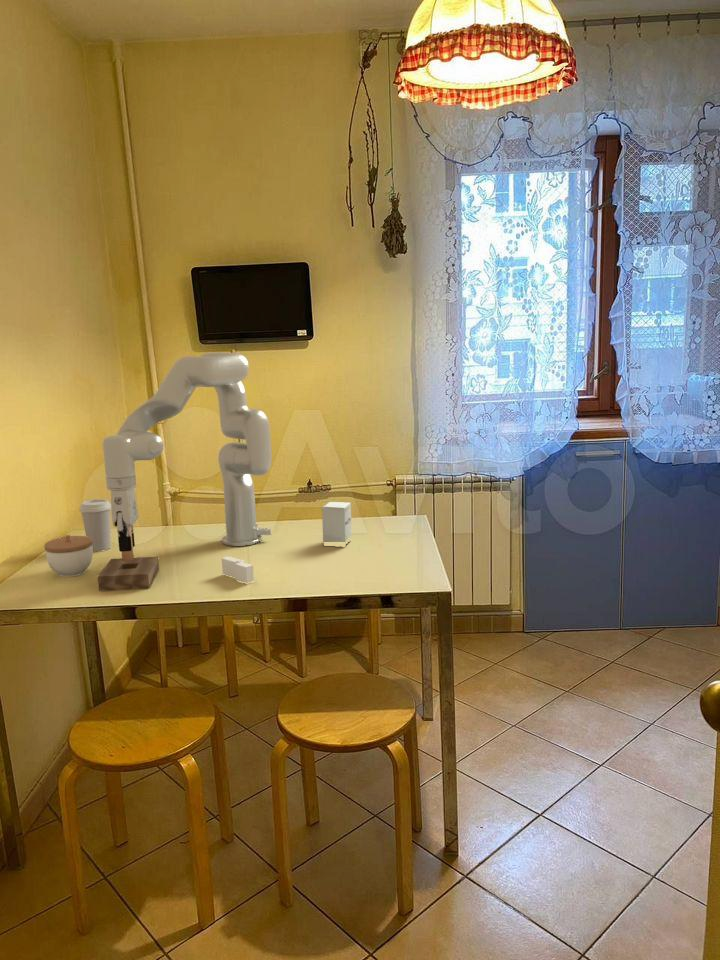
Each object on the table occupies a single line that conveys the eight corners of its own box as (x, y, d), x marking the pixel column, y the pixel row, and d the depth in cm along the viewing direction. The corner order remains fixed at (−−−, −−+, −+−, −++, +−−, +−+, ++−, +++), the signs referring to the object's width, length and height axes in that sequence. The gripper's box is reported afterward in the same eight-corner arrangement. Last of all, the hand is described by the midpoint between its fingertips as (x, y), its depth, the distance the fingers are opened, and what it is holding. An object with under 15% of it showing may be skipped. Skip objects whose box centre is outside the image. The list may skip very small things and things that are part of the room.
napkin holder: (216, 574, 209) (214, 554, 208) (257, 570, 211) (255, 551, 210) (216, 592, 195) (215, 571, 194) (260, 588, 197) (259, 567, 196)
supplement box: (345, 548, 229) (344, 507, 226) (322, 546, 231) (321, 506, 228) (352, 541, 236) (351, 502, 233) (330, 539, 238) (328, 501, 235)
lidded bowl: (50, 583, 204) (46, 544, 201) (45, 570, 214) (40, 533, 212) (99, 575, 209) (95, 537, 207) (91, 563, 220) (87, 526, 218)
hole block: (159, 570, 212) (158, 556, 212) (149, 588, 198) (148, 573, 197) (112, 572, 211) (111, 558, 211) (98, 591, 197) (97, 576, 196)
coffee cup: (120, 544, 239) (115, 498, 236) (109, 553, 230) (105, 505, 227) (90, 544, 239) (85, 498, 236) (78, 553, 230) (73, 505, 227)
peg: (134, 557, 205) (131, 522, 203) (132, 561, 202) (129, 525, 200) (123, 558, 205) (120, 522, 203) (121, 561, 202) (117, 525, 200)
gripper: (129, 488, 191) (135, 557, 195) (141, 475, 207) (147, 539, 211) (98, 489, 191) (105, 558, 194) (113, 476, 207) (119, 541, 210)
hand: (127, 548), depth 203 cm, fingers closed on peg, 3 cm apart
